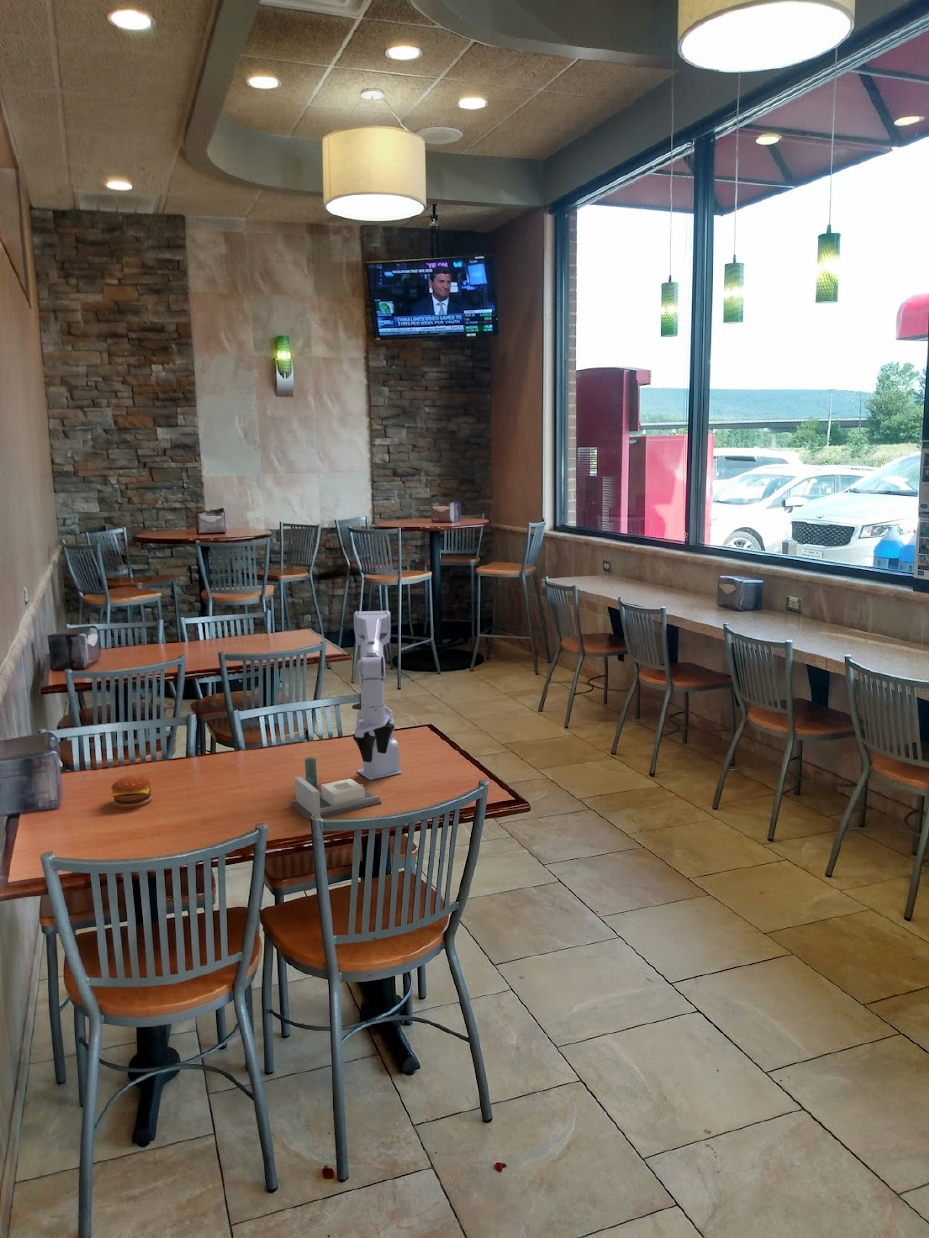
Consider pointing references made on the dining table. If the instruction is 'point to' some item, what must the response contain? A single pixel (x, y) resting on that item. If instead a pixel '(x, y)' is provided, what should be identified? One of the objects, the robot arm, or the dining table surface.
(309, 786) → the base
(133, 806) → the hamburger
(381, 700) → the robot arm
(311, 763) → the dowel
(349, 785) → the sliding block
